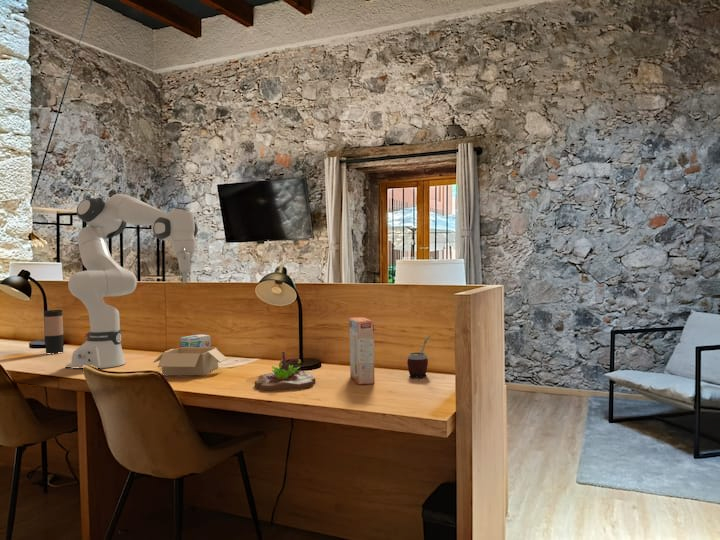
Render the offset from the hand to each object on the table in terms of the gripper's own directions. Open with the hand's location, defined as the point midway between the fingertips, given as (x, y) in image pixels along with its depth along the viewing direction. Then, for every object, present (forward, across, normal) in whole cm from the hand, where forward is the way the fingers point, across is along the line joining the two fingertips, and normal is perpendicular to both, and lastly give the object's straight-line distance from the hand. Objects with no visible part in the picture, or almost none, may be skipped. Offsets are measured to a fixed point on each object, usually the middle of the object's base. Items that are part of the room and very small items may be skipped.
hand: (184, 283), depth 221 cm
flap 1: (+25, -18, +2) cm, 31 cm away
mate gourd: (+33, -55, -76) cm, 99 cm away
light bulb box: (+33, +10, -4) cm, 35 cm away
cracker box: (+33, -52, -56) cm, 83 cm away
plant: (+34, -46, -30) cm, 65 cm away
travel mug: (+33, +62, +59) cm, 92 cm away
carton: (+33, -8, 0) cm, 34 cm away
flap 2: (+25, -15, -8) cm, 30 cm away
